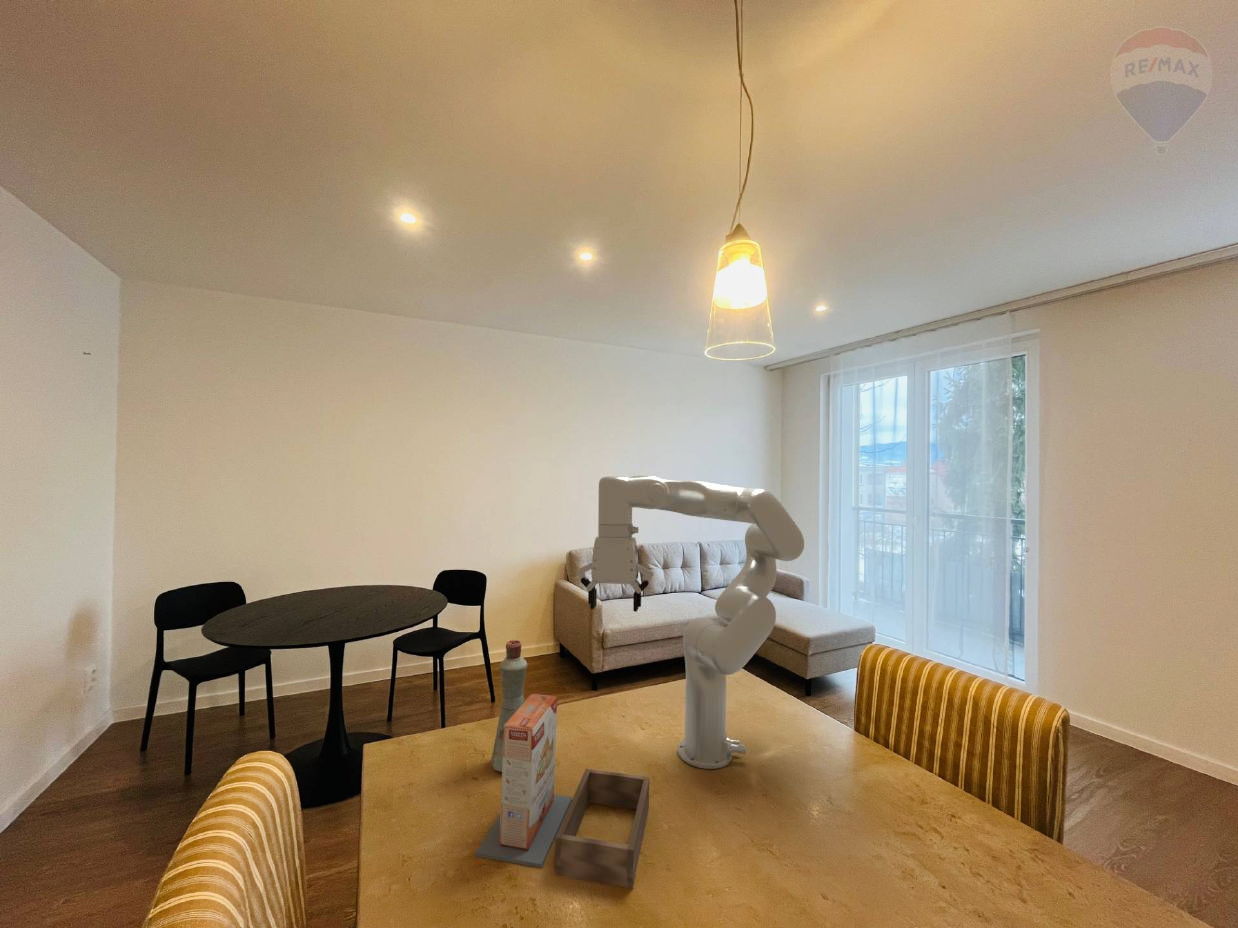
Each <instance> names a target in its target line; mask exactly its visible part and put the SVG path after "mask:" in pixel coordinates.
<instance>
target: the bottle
mask: <svg viewBox="0 0 1238 928" xmlns="http://www.w3.org/2000/svg"><path fill="white" fill-rule="evenodd" d="M505 653H506V655H505V656H506V657H505V658H504V659H503V660H502V661H501V662H500V664H499V673H500V680H501V688H502V700H501V706H500V711H499V715H498V717H499V718H498V723H497V728H496V733H495V734H496V735H495V740H494V744H493V748H492V749H493V750H492V754H491V759H490V760H491V765H492V768H493V769H494V771H497V772H501V773H502V765H503V739H504V725H505V724H506V723H507V721H508V720H509V719H510V718H511V717H512V716H513V715H514V714H515V712H516V711H517V710H518V709H519V708H520V707H521V705H522V704H523V703H524V702H525V699H524V689H525V688H524V686H525V681H526V675H527V669H528V663H527V660H525V659H524V657H523V656H522V655H521V653H522V643H521V641H520V640H515V639H513V640H509V641H507V642H506V644H505Z"/></svg>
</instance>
